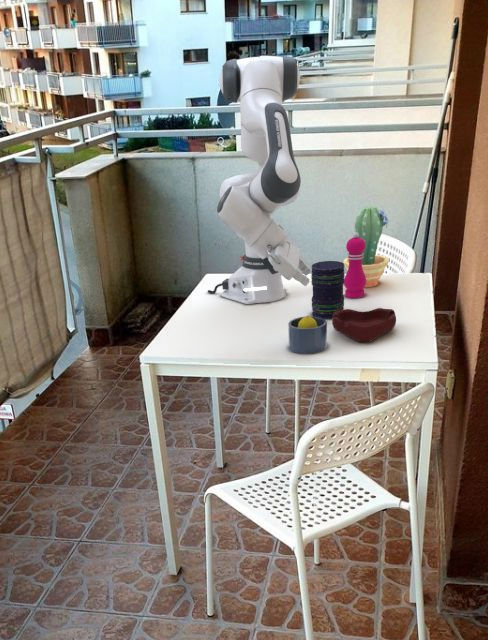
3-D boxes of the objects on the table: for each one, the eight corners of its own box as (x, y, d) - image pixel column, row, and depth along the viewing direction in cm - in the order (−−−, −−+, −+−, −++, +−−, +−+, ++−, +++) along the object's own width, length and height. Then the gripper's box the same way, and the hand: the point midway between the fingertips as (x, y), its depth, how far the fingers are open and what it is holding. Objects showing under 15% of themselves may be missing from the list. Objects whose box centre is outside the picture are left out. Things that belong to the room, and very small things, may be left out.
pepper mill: (369, 293, 229) (371, 230, 218) (360, 299, 224) (362, 235, 213) (348, 291, 232) (350, 229, 222) (339, 297, 227) (340, 234, 217)
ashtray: (332, 345, 191) (332, 328, 188) (332, 325, 205) (332, 309, 202) (398, 343, 188) (399, 326, 186) (394, 323, 202) (394, 307, 199)
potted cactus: (379, 291, 229) (383, 212, 216) (335, 288, 236) (336, 211, 223) (394, 279, 240) (398, 202, 227) (351, 276, 247) (353, 201, 234)
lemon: (317, 347, 188) (316, 319, 184) (296, 347, 190) (296, 319, 185) (318, 340, 193) (318, 312, 189) (298, 340, 194) (298, 312, 190)
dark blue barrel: (343, 308, 217) (344, 260, 210) (344, 318, 209) (345, 268, 201) (311, 309, 219) (311, 261, 211) (311, 319, 210) (310, 270, 203)
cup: (281, 349, 191) (281, 325, 188) (303, 338, 198) (303, 314, 194) (312, 356, 185) (311, 331, 182) (333, 344, 191) (333, 320, 188)
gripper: (275, 241, 168) (315, 280, 171) (280, 223, 185) (317, 259, 188) (257, 261, 171) (298, 299, 174) (264, 241, 188) (301, 276, 191)
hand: (308, 278), depth 182 cm, fingers open, 8 cm apart
